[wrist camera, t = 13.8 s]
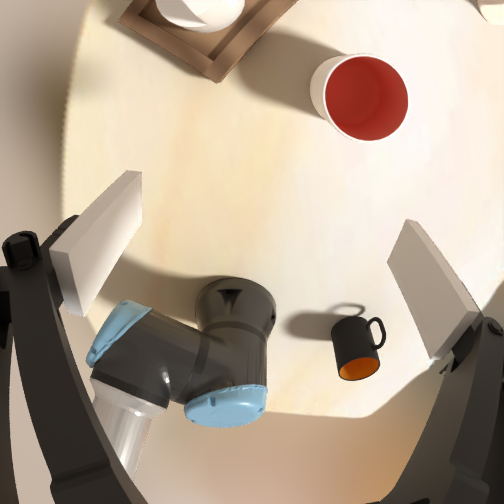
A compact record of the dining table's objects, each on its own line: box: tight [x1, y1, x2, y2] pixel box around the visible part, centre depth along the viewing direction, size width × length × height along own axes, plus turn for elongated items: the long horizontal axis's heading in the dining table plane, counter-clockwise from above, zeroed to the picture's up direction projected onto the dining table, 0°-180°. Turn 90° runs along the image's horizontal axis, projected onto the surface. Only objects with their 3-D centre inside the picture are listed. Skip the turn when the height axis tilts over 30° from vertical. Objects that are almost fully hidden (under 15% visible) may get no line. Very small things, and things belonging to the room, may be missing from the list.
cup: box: [310, 53, 410, 143], centre depth 31 cm, size 10×10×10 cm
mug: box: [331, 316, 386, 381], centre depth 55 cm, size 8×12×10 cm
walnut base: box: [118, 0, 298, 83], centre depth 27 cm, size 16×16×4 cm
